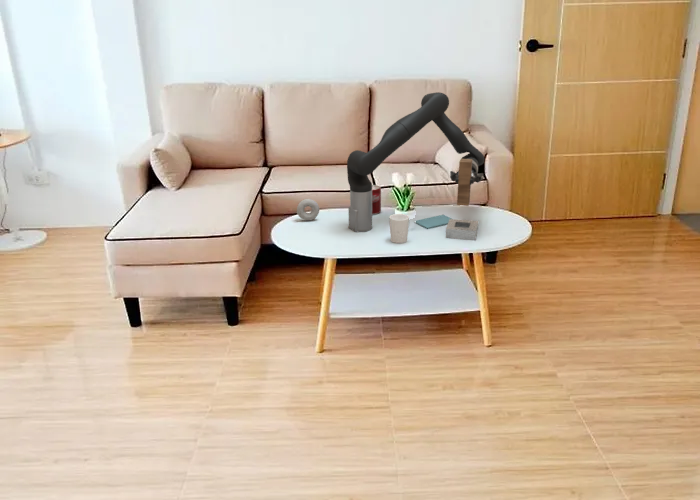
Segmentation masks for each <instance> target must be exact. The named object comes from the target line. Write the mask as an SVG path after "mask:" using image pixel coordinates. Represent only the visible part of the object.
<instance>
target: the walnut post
mask: <svg viewBox="0 0 700 500" xmlns="http://www.w3.org/2000/svg"><path fill="white" fill-rule="evenodd" d="M458 163H459V165H458V166H459V167H458V171H459V181H458V184H457V197H456V199H457V200H456V206H466V207H469V206H470V200H471V199H470V198H471V187H472V185H470V178H471V173H472V159H461V158H460V159H459V162H458Z"/></svg>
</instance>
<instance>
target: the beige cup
mask: <svg viewBox="0 0 700 500" xmlns="http://www.w3.org/2000/svg"><path fill="white" fill-rule="evenodd" d="M409 223H410V216H409V215H408V214H403V213H394V214H391V215H389V234H390V241H391V242H392V243H396V244H404V243H406V242H407V241H408V235H409V229H410V228H409V226H410V225H409Z"/></svg>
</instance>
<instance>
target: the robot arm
mask: <svg viewBox="0 0 700 500" xmlns="http://www.w3.org/2000/svg"><path fill="white" fill-rule="evenodd" d="M449 99H450V98H449V97H448V95H447V94H446V93H444V92H440V91H439V92H429V93H427V94H425V95H423V97H422V99H421V103H420V105H421V106H420V107H419V108H418V109H416V110H415V111H413V112H410V113H408V114H407V115H404V116H403V117H401V118H400V119H398V120H396V121H395V122H394V123H392V124H391V125H390V126H389V127H387V129H386V130H385V132H384V133H383V135H382V137H381V139H380V141H379V142H378V143H377V144H376V145H375V146H374V147H373V148H372V149H370V150H369V151H367V152H364V151H362V150H359V149H357V150H353V151H352V152H350V154H349V155H348V157H347V162H346V171H347V174H346V175H347V183H348V185H349V197H350V198H349V200H350V201H349V202H350V204H349V206H348V210H347V211H348V228H349V229H350V230H352V231H353V232H355V233H357V232H358V233H359V232H360V233H361V232H369V231H371V230H372V229H373V214H372V185H373V184H372V183H373V182H371V180H370V178H369V177H368V175H371V174H372V173H373V172H374V171H375V170H376V169H377V168H378V167H379V166H380V165H381V164H382V163H384V161H385V160H386V159H387V158H388V157H389V156H391V155H392V154H393V153H394V152H396V151H397V150H398V149H399V148H400V147H402V146H403V145H405V143H407V142H408V141H410V140H411V139H412V138H413V137H414V136H415V135H416V134H417V133H419V132H420V131H421V130H422V129H423V128H425V126H427V125H428V124H429V123H430V122H432V121H433V123H434V124H435V125H436V126H437V127H438V129H439V130H440V132H442V134H443V135H444V136H445V137H446V138H447V140H448V141H449V143H450V144H451V146H452V147H453V149H454V151H455V152H456V153H457V154H458V155H462V154H465V153H468V154H465V155H463V156H462V157H460V159H472V173H471V178H470V185H471V186H472V185H473V184H475V183H480V182H481V181H483V180H484V173H483V172H481V173H478V172H479V167H480V166H482V165H483V164H484V163H485V156H484V154H483V152H481V151H480V150H479V149H478V148H476V147H475V146H474V145H473V144H472V143H471V142H470V140H469V139H468V137H467V136H466V135H465V133H464V131H463V130H462V129H461V128H460V127H459V126H458V125H456V123H454V122H453V121H452V119H450V118H449V117H448V115H447V114H446V113H445V112H446V111H447V110H448V108H449V106H450V100H449ZM449 174H450V175H449V178H450V179H451V181H452V182H455V183H456V184H457V185H458V181H459V170H458V171H456V172H455V171H454V170H451V171H449Z"/></svg>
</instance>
